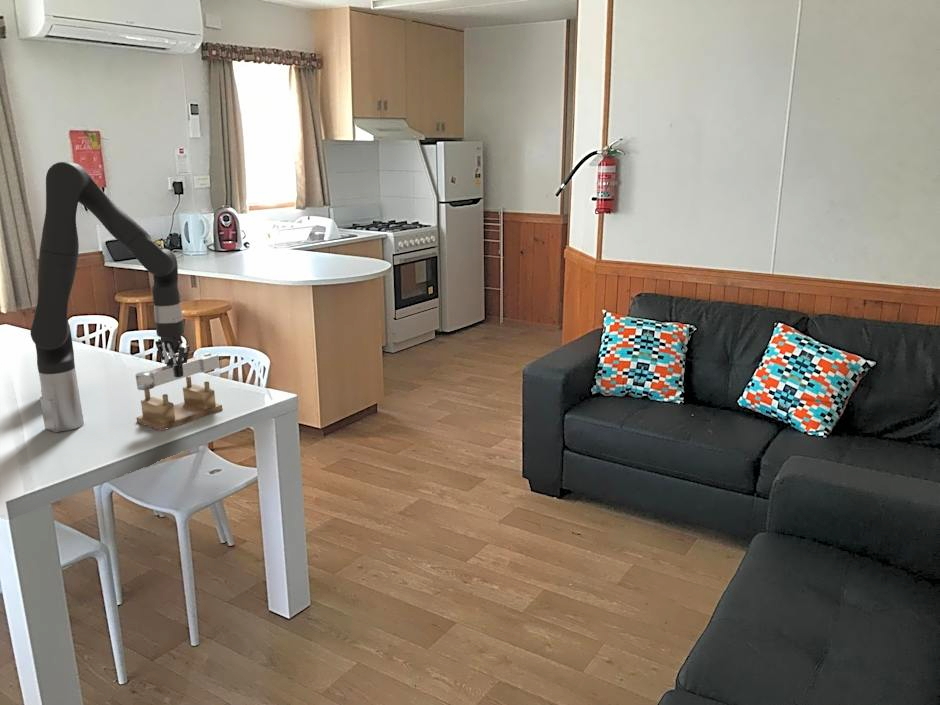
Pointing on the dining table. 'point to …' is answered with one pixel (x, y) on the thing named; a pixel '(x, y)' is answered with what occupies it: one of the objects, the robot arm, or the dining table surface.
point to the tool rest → (178, 407)
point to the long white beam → (168, 372)
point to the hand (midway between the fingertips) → (175, 375)
